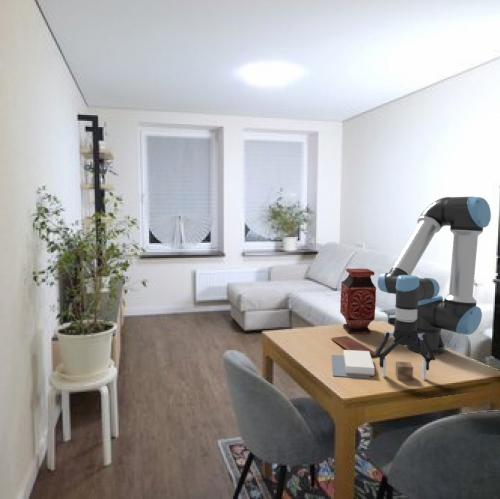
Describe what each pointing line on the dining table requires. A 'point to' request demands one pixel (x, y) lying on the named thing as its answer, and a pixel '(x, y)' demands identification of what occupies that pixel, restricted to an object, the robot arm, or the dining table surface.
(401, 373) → the walnut block
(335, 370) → the felt mat
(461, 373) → the dining table surface
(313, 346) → the dining table surface
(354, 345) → the wooden tablet
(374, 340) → the dining table surface
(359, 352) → the tile
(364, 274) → the vase
